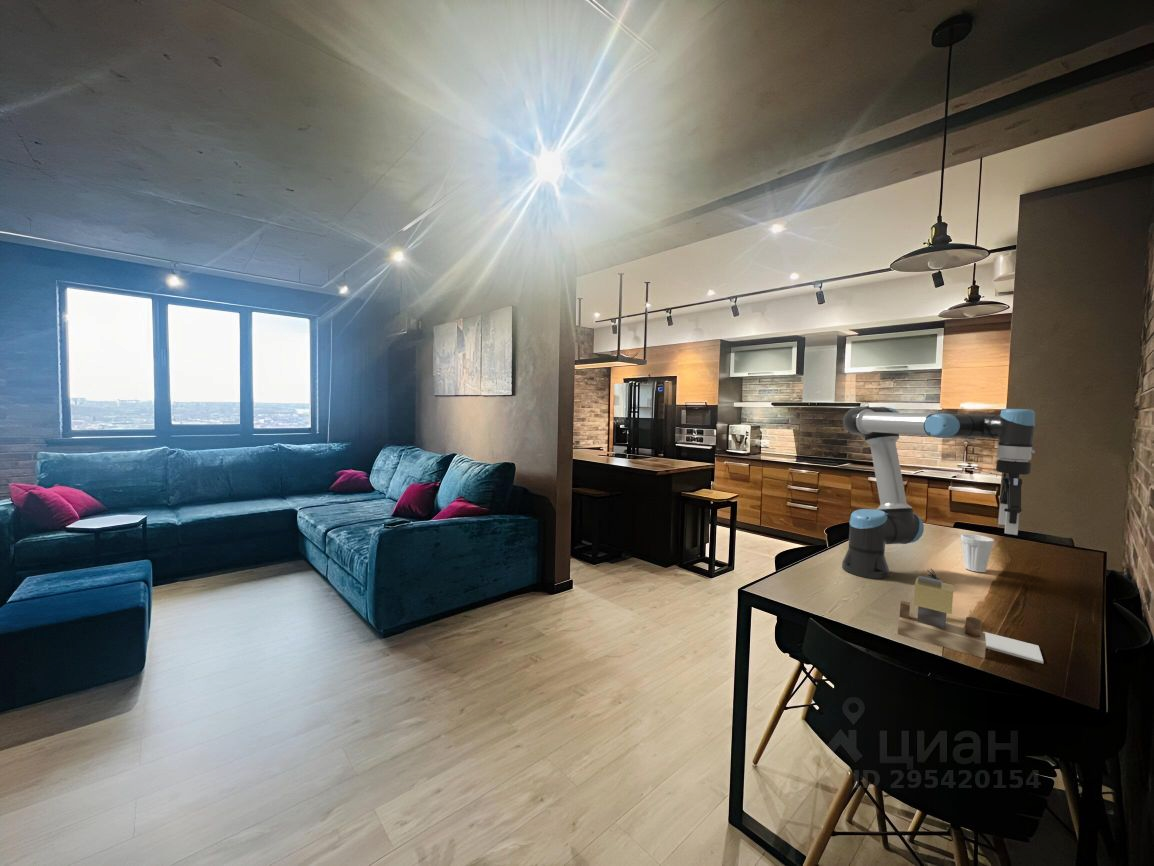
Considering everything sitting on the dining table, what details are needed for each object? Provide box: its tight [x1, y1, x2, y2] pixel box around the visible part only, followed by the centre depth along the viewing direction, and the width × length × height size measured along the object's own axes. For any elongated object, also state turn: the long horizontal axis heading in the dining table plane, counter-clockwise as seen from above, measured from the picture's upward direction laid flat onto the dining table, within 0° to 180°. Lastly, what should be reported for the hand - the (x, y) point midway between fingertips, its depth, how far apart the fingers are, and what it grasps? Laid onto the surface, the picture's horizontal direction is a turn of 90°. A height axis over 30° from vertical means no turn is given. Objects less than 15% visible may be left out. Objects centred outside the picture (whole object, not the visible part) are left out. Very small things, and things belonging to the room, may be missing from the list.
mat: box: [983, 631, 1044, 664], centre depth 120 cm, size 11×10×1 cm
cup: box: [960, 533, 995, 573], centre depth 178 cm, size 10×10×13 cm
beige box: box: [913, 575, 954, 615], centre depth 123 cm, size 8×6×7 cm
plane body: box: [897, 600, 987, 659], centre depth 123 cm, size 18×7×9 cm, turn 50°
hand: (1007, 529), depth 139 cm, fingers open, 13 cm apart
